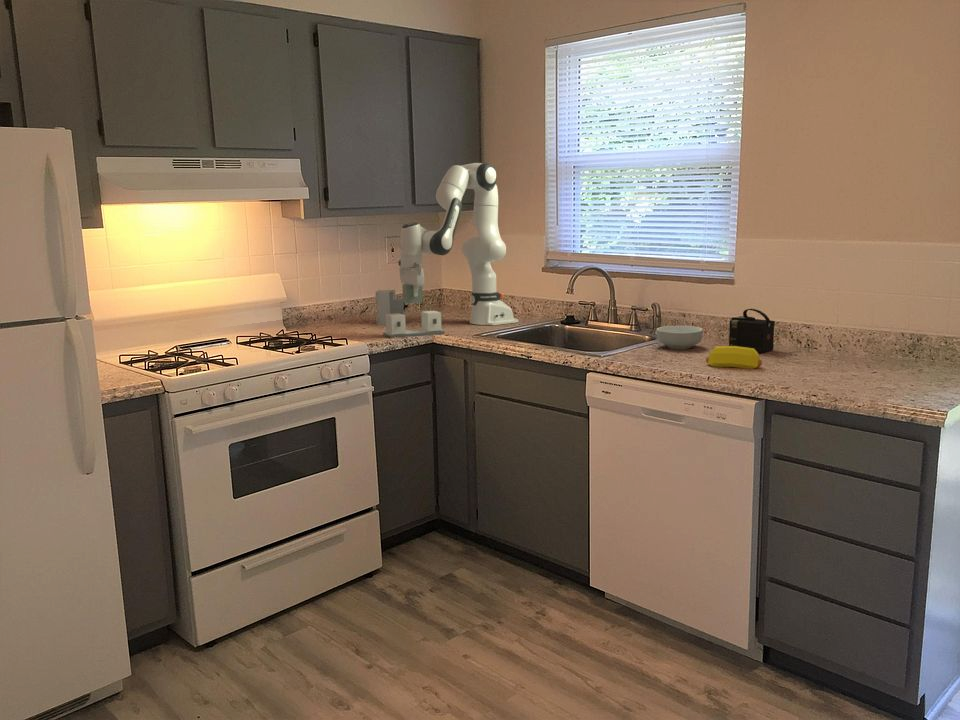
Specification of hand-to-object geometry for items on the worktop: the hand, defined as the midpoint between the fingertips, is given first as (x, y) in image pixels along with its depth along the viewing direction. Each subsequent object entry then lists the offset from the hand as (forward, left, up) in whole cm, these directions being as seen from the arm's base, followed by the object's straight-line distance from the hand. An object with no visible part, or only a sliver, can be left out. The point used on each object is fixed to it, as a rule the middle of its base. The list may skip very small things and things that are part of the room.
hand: (412, 295), depth 345 cm
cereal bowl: (-76, +80, -17) cm, 112 cm away
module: (0, 0, -3) cm, 3 cm away
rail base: (0, 0, -16) cm, 16 cm away
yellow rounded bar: (-69, +118, -17) cm, 137 cm away
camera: (-95, +97, -17) cm, 137 cm away
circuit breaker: (-3, -37, -17) cm, 41 cm away
